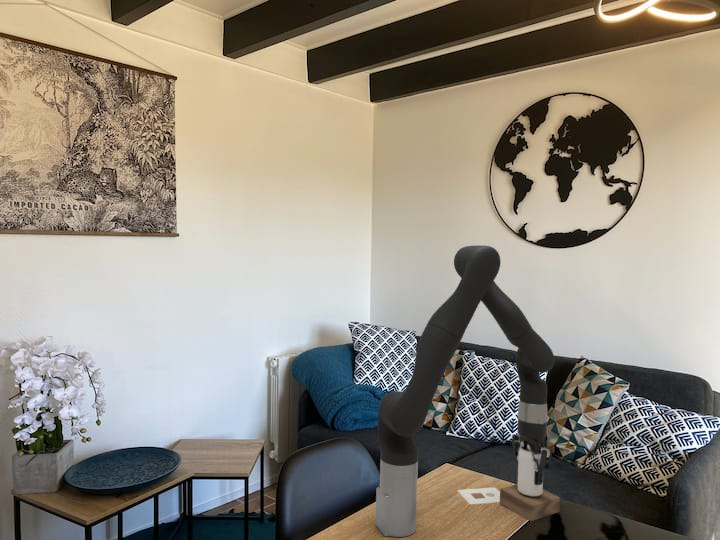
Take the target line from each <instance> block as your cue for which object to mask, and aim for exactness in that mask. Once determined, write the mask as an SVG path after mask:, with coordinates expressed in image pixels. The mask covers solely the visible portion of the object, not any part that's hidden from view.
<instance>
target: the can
mask: <svg viewBox="0 0 720 540" xmlns="http://www.w3.org/2000/svg"><path fill="white" fill-rule="evenodd" d="M534 456H535V458H536V459H541V455H540V454H537V455H536V454H534ZM537 463H538V466H540V461H538V462H537ZM534 466H535V463H534V462H533V461H532V454H531V451H528V449H526V448H522V447H521V449H520V451H519V462H518V461H517V484H518V491H519V492H520V493H521V494H523V495H526V496H531V497H537V496H540V495H541V494H542V492H543V489H544V487H543V485H544V481H543V482H542V484H541V485H535V484H534V476H535V469H534Z"/></svg>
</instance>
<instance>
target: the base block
mask: <svg viewBox="0 0 720 540" xmlns="http://www.w3.org/2000/svg"><path fill="white" fill-rule="evenodd" d="M499 491H500V503H499V504H500V505H502V506H504V508H507V509H509V510H510V511H512V512H514V513H516V514H517V515H519V516H521V517H522V518H524V519H527V520H528V521H530V522H533V521H536V520H539V519H542V518H546V517H549V516H551V515H554V514H558V513H560V508H561V497H560V496H558V495H556V494H554V493H552V492H550V491H548V490H546V489H544V488H543V492H542V494H541V495H540V496H537V497H531V496H526V495H523V494H521V493H520V492H519V491H518V483H517V484H513V485H510V486H506V487H502V488H500V490H499Z"/></svg>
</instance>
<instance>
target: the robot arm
mask: <svg viewBox="0 0 720 540" xmlns="http://www.w3.org/2000/svg"><path fill="white" fill-rule="evenodd" d="M453 258H454V259H453V266H454V270H455V272H456V273H457V275H458V276H459V277H460V278H461V279H460V281H459V283H458V285H457V287H456V289H455V290H454V292H453V293H452V294H451V295H450V296H449V297H448V298H447V299H446V300H445V301H444V302H443V304H441V305H440V306H439V307H438V308H437V309H436V310H435V312H434V313H433V314H432V315H431V316H430V318H429V320H428V322H427V324H426V326H425V327H424V330H423V331H422V333H421V335H420V338H419V340H418V342H417V347H416V354H415V361H414V367H413V371H412V376H410V377H411V378H410V380H409V382H408V384H407V385H406V388H405V390H404V391H400V390H399V391H397V390H395V391H391V392H389V393H387V394H385V396H383V397H382V399H381V401H380V403H379V407H378V411H377V412H378V413H377V414H378V415H377V425H378V426H377V436H378V437H377V439H378V440H377V441H378V447H379V451H380V464H379V468H380V469H379V486H377V487H376V494H375V495H376V496H375V521H374V522H375V526H376V527H377V528H378V530H379V531H380V532H381V533H382V534H383V536H384V537H394V538H397V537H398V538H402V537H403V538H404V537H407V536H411V535H413V534H414V533H415V532H416V528H417V504H418V503H417V502H418V501H417V500H418V499H417V498H418V497H417V496H418V471H419V470H418V469H419V468H418V467H419V449H418V447H417V444H416V443H415V442H416V441H415V440H414V439H415V438H414V435H415V434H416V433H417V432H419V430H420V429H421V428H422V427H423V425H424V422H425V421H426V418H427V415H428V413H429V410H430V407H431V405H432V403H433V400H434V397H435V394H436V392H437V389H438V386H439V385H440V383H441V381H442V379H443V377H444V375H445V373H446V371H447V368H448V367H449V364H450V362H451V360H452V358H453V357H454V355H455V353H456V351H457V349H458V347H459V345H460V343H461V341H462V339H463V337H464V334H465V332H466V330H467V328H468V326H469V324H470V323H471V321H472V318H473V317H474V315H475V312H476V310H477V309H478V308H479V305H480V303H482V304H483V305H484V306H485V307H486V309H487V310H488V312H489V313H490V314H491V316H492V318H494V320H495V322H496V323H497V325H498V327H500V330H501V331H502V333H503V334H504V335H505V337H506V339H507V340H508V341H509V343H510V344H511V345H512V346H514V347H516V348H518V349H517V350H516V353H515V364H516V365H515V366H516V371H517V376H518V380H519V385H520V386H519V403H518V407H517V408H518V409H517V431H516V432H517V433H516V434H515V433H514V434H512V436H511V438H512V443H511V445H512V455H513V457H514V458H515V457H516V460H517V463H518V462H519V451H520V449H521V447H522V448H526V449H528V451H531V454H532V461H533V462H534V463H535V466H534V469H535V476H534V484H535V485H541V484H542V482H543V483H544V472H548V471H550V469H551V464H552V455H553V450H552V449H551V448H547V447H545V443H544V440H545V439H546V437H547V434H548V432H547V431H548V430H547V429H548V384H547V382H546V381H545V380H544V379H542V378H541V376H540V373H542V374H543V373H548V372H549V371H551V370H552V369H553V367H554V364H555V356H554V353H553V350H552V348H551V347H550V346H549V344H548V343H547V342H546V341H545V340H544V339H543V338H542V337H541V336H540V335H539V334H538V333H537V332H536V331H535V329H534V328H533V327H532V325H531V323H530V322H529V319H527V317H526V316H525V313H523V311H522V309H521V308H520V307H519V305H517V304H516V303H515V302H514V300H512V299H511V298H510V297H509V296H508V295H507V294H506V293H505V292H504V291H503V290H502V289H501V288H500V287H499V286H498V285H497V283H496V282H495V279H496V278H497V275H498V274H499V271H500V267H501V255H500V253H499V252H498V250H497V249H496V248H495V247H492V246H490V245H466V246H462V247H461V248H459V250H457V252H456V253H455V254H454V257H453ZM517 449H518V450H517ZM534 454H536V455H537V454H540V455H541V459H536V458H535V456H534ZM538 461H540V466H538V463H537V462H538Z"/></svg>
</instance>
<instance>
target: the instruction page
mask: <svg viewBox="0 0 720 540" xmlns="http://www.w3.org/2000/svg"><path fill="white" fill-rule="evenodd" d="M456 492H458V494H459V495H460V496H461V498H463V499H464V500H465V501H466V502H467V503H468V504H469V505H470V506H473V505H485V504H500V490H499V489H497V487H495V486H494V487H482V488H471V489H469V488H467V489H458V490H456Z"/></svg>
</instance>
